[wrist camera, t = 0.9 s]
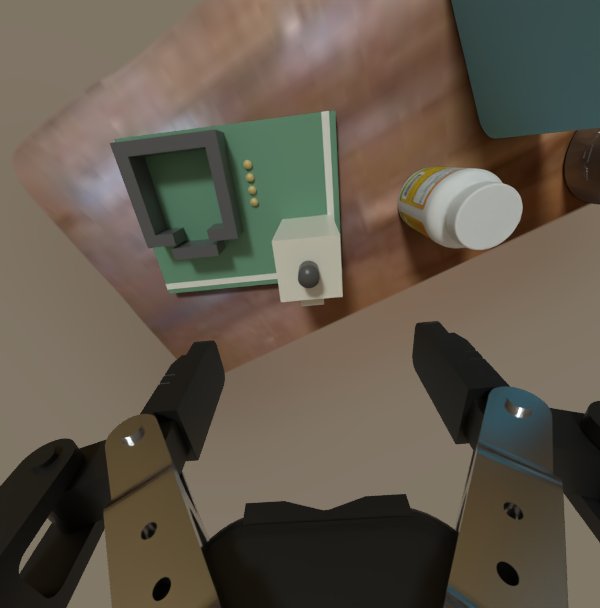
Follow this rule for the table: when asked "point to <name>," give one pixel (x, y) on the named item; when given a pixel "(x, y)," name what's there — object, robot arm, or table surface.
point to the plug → (308, 259)
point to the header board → (246, 196)
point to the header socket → (147, 202)
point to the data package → (532, 64)
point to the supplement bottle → (460, 207)
